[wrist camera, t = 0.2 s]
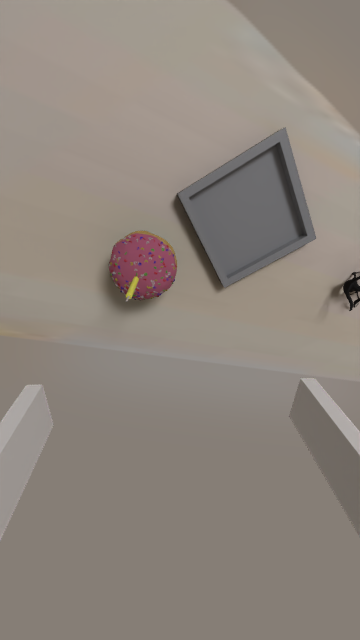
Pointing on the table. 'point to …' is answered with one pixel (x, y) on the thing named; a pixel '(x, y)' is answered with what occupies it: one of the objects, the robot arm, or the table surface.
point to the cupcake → (143, 265)
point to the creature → (352, 289)
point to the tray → (250, 209)
